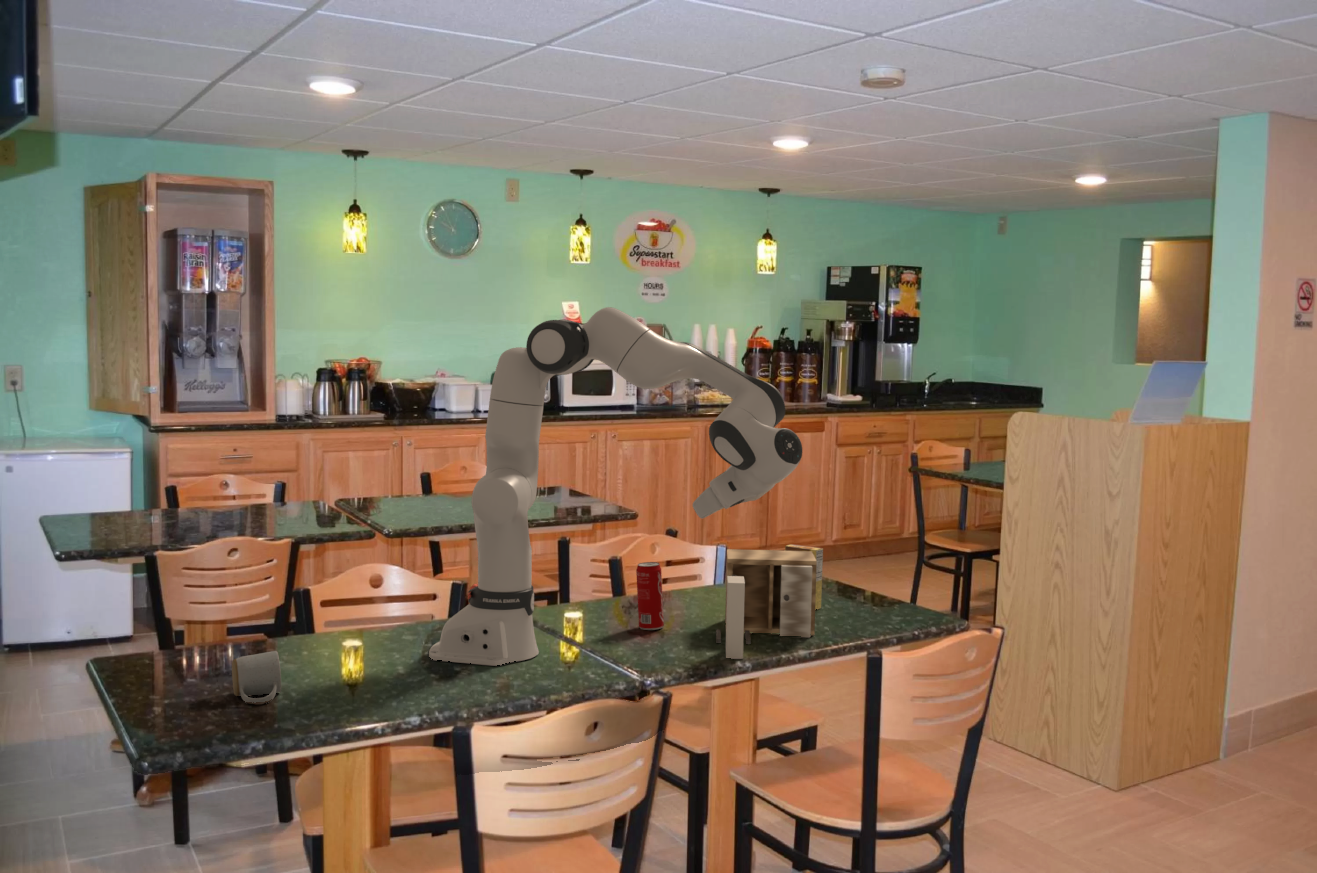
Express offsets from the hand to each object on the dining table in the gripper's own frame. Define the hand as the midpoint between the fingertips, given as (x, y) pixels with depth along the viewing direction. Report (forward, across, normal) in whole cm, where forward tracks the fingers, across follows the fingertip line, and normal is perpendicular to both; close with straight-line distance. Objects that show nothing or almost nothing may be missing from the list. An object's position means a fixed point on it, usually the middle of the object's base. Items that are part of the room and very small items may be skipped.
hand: (718, 503), depth 238 cm
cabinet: (+21, -7, +28) cm, 36 cm away
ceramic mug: (+21, +95, -10) cm, 98 cm away
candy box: (+37, -32, +29) cm, 56 cm away
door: (+11, +10, +28) cm, 32 cm away
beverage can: (+34, +11, +14) cm, 38 cm away
